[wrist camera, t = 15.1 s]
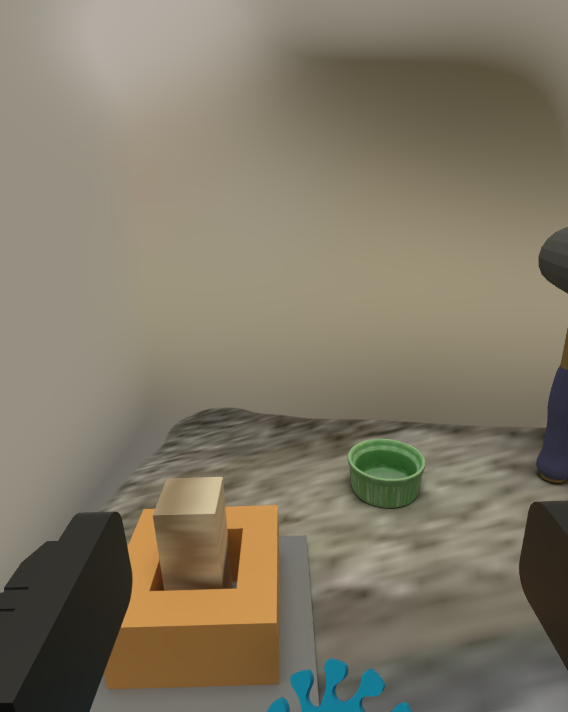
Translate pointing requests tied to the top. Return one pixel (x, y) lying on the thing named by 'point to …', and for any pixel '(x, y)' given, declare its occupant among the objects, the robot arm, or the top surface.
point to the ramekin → (385, 472)
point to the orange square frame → (215, 627)
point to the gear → (333, 691)
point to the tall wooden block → (193, 534)
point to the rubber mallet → (564, 426)
